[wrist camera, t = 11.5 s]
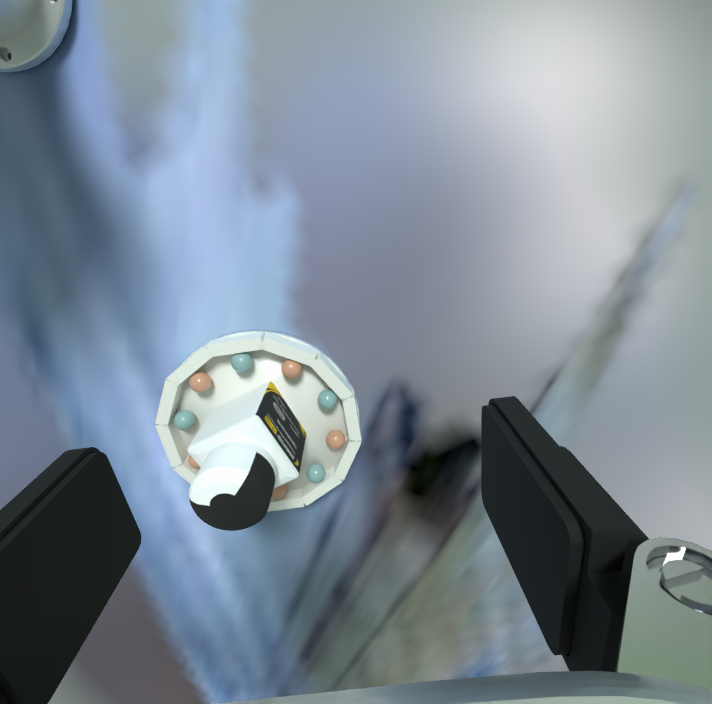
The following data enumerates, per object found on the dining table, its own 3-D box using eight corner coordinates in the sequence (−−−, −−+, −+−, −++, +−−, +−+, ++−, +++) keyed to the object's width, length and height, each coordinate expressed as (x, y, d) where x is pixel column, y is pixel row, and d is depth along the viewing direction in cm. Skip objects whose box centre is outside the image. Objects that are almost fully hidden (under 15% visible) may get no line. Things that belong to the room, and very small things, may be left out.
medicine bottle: (308, 433, 40) (293, 521, 29) (250, 459, 41) (214, 555, 30) (271, 378, 38) (240, 452, 27) (211, 408, 39) (157, 491, 28)
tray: (140, 346, 37) (124, 357, 35) (343, 315, 37) (342, 324, 34) (201, 505, 45) (191, 525, 42) (371, 482, 44) (372, 501, 41)
